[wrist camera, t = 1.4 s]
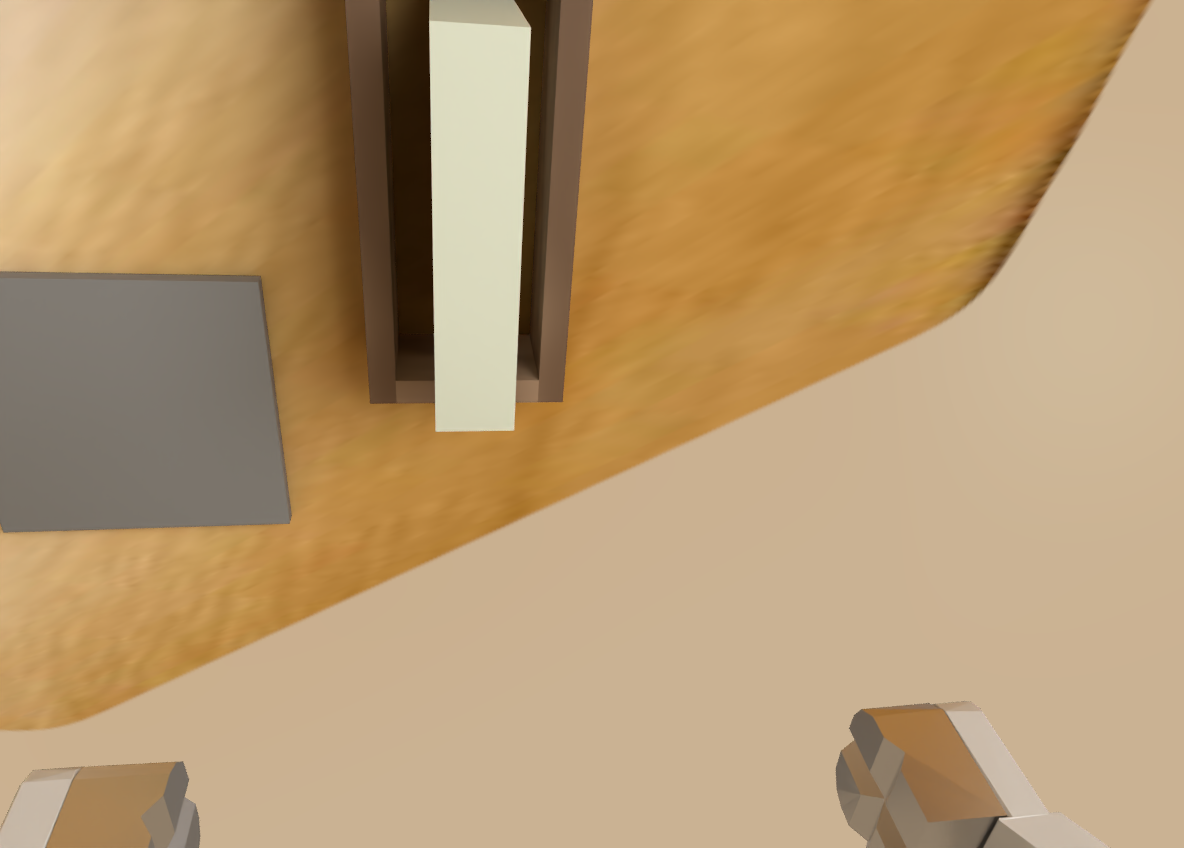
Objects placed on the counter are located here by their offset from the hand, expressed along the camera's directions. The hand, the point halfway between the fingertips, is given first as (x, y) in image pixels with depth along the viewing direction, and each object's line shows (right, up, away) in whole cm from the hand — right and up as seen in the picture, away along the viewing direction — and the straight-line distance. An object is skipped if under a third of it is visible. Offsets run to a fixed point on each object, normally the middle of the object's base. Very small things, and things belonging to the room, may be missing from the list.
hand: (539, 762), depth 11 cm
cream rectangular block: (-4, +14, +22) cm, 27 cm away
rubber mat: (-19, +5, +26) cm, 32 cm away
